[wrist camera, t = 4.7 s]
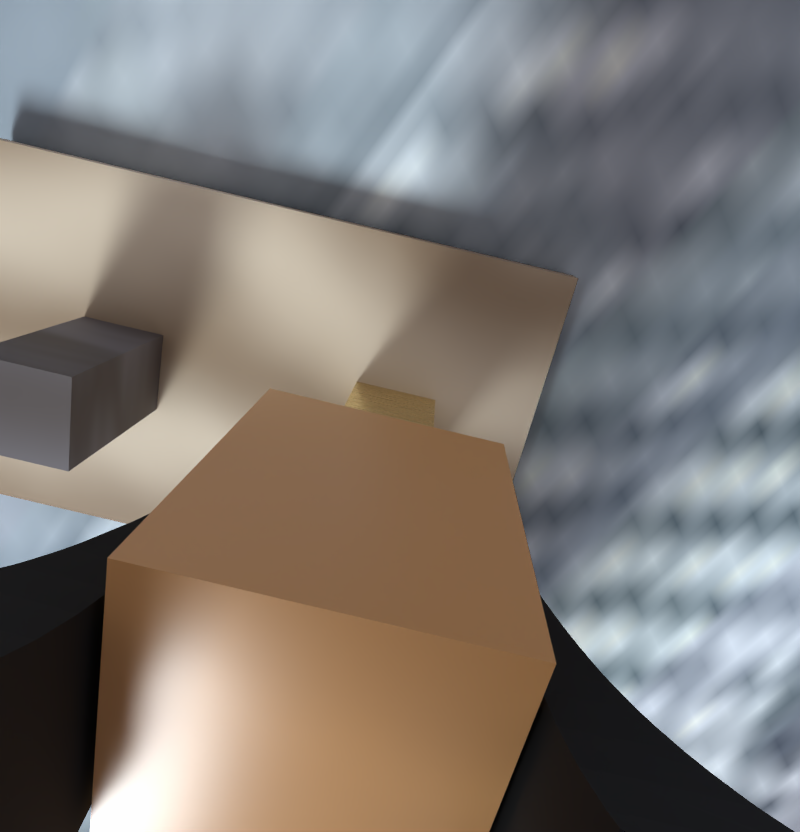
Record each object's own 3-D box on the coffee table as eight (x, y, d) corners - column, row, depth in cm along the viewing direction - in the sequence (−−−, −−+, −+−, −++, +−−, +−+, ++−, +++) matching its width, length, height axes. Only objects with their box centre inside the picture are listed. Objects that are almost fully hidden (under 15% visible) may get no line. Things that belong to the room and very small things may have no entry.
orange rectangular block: (444, 633, 15) (444, 946, 9) (239, 585, 15) (87, 863, 8) (503, 444, 13) (556, 663, 7) (270, 388, 13) (107, 558, 7)
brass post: (416, 471, 20) (407, 551, 15) (341, 453, 20) (309, 528, 15) (435, 399, 19) (431, 462, 15) (356, 381, 19) (328, 438, 15)
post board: (471, 591, 23) (479, 714, 17) (5, 481, 22) (-137, 570, 17) (573, 275, 18) (625, 305, 13) (3, 138, 18) (-183, 110, 13)
